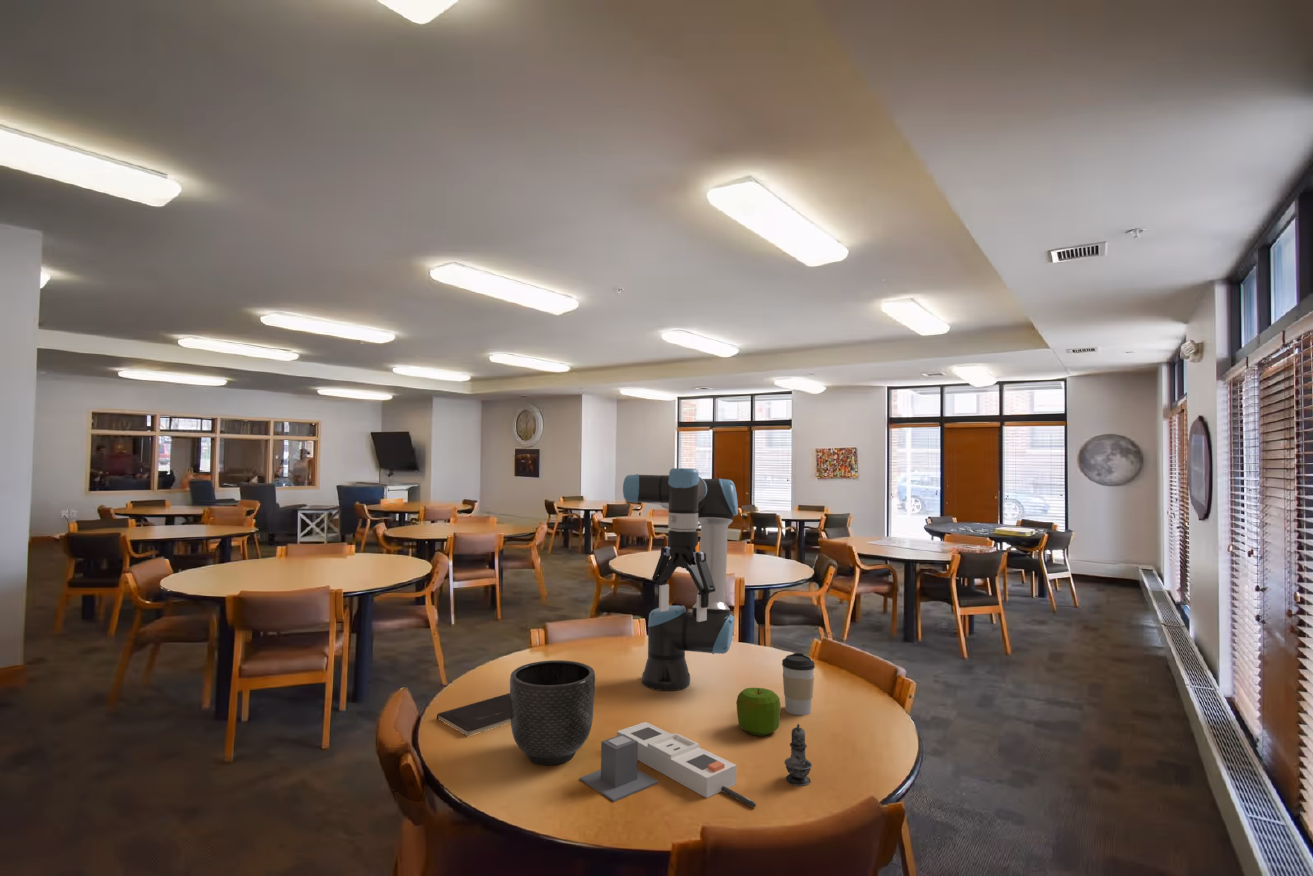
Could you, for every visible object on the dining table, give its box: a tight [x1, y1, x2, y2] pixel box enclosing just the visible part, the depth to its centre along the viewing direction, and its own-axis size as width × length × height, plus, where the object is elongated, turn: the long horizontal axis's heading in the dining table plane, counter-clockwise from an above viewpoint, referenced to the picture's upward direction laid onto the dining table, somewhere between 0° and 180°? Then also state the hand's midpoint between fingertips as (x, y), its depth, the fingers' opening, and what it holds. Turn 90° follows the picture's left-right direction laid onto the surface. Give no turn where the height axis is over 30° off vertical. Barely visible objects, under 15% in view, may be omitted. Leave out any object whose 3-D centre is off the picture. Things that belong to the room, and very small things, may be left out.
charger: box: [600, 734, 639, 788], centre depth 137 cm, size 5×6×8 cm
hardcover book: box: [436, 692, 511, 737], centre depth 172 cm, size 16×23×2 cm
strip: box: [616, 721, 757, 808], centre depth 142 cm, size 39×9×5 cm, turn 41°
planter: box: [509, 659, 596, 766], centre depth 149 cm, size 20×20×19 cm
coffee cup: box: [781, 652, 816, 716], centre depth 179 cm, size 9×9×15 cm
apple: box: [735, 687, 781, 736], centre depth 165 cm, size 11×11×11 cm
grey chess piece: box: [784, 723, 813, 787], centre depth 139 cm, size 6×6×12 cm
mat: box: [579, 768, 659, 803], centre depth 137 cm, size 12×12×1 cm
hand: (682, 615), depth 159 cm, fingers open, 13 cm apart
